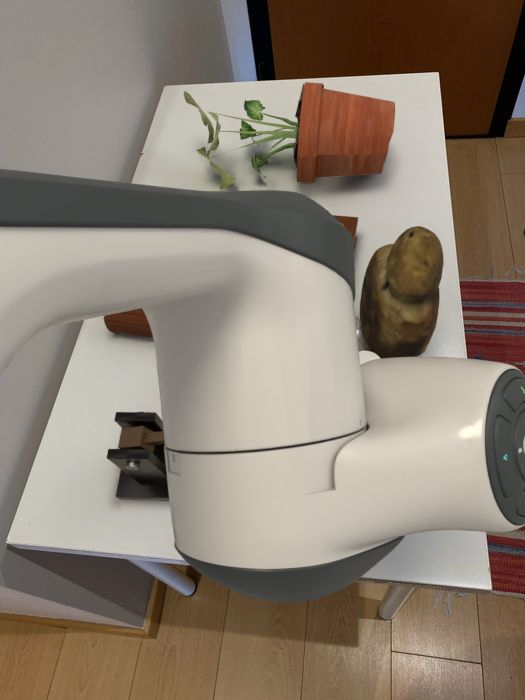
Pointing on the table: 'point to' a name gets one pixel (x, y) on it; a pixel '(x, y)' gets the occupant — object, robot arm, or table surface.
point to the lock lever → (140, 438)
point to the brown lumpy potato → (402, 294)
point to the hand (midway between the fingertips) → (219, 419)
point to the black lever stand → (140, 461)
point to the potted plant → (319, 134)
